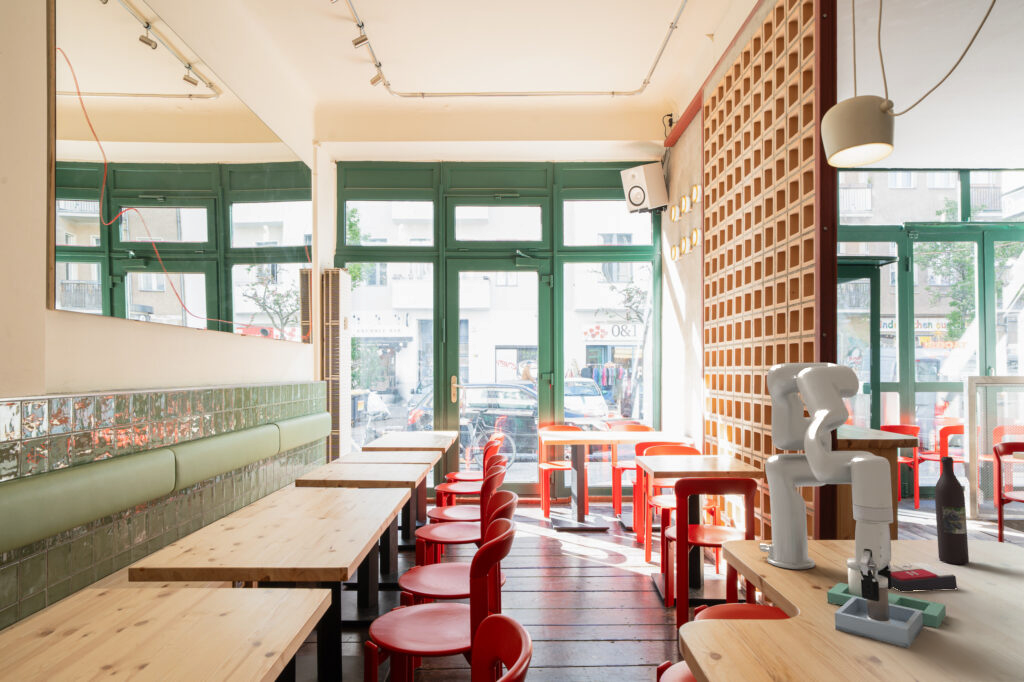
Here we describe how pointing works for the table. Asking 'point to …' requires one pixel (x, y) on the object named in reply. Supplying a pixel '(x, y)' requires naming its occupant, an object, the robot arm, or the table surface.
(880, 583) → the fuse
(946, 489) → the wine bottle
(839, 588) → the block
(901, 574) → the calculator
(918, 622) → the parts tray
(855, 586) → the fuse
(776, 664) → the table surface
